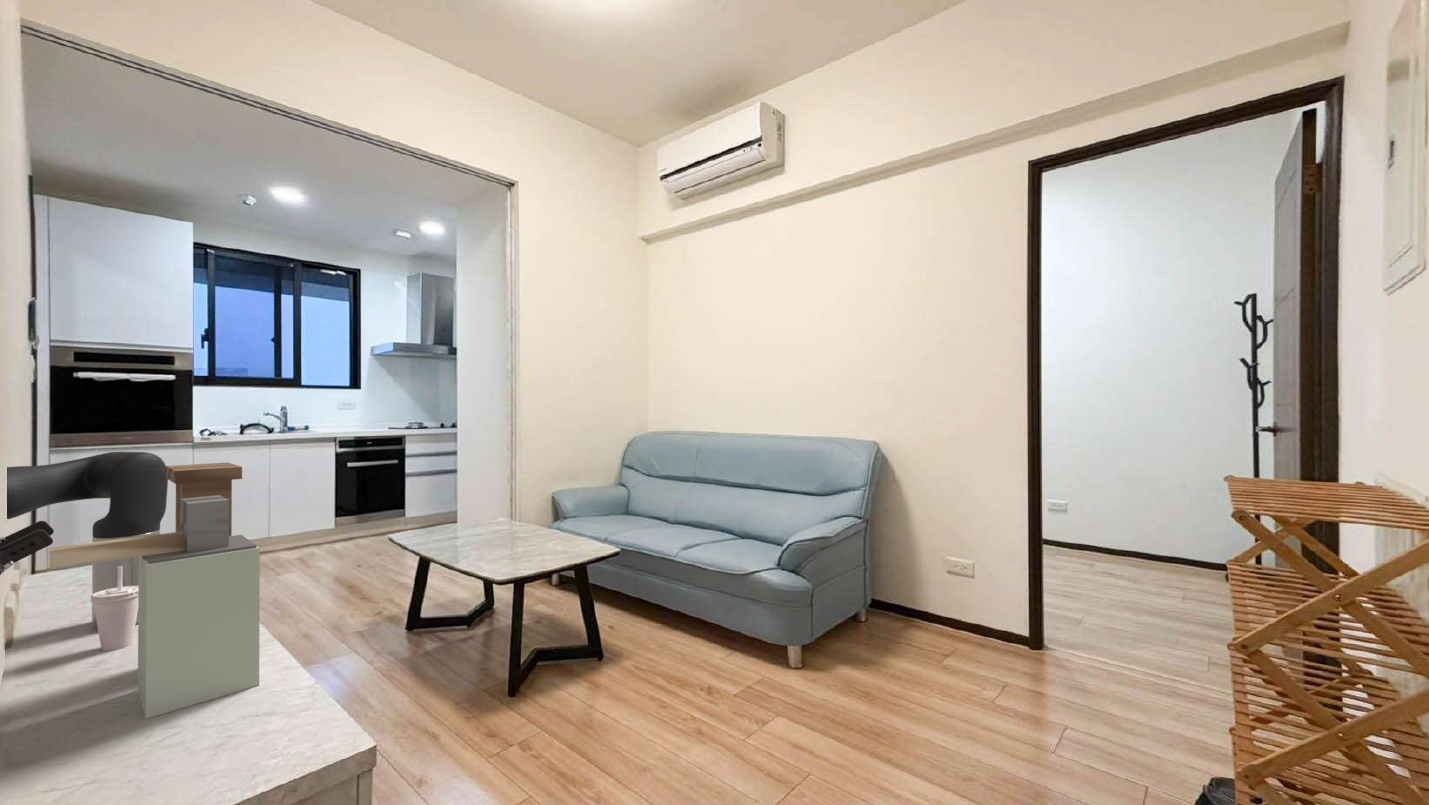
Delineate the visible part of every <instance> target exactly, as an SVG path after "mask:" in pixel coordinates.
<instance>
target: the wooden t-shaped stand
mask: <svg viewBox="0 0 1429 805" xmlns="http://www.w3.org/2000/svg"><path fill="white" fill-rule="evenodd" d="M166 478H167V479H168V481H170V482H172V483H173V484H174V485H175V532H181V499H185V498H196V497H207V496H218V495H220V496H222V497H224V498H226V499H228V500H229V536H232V533H233V532H232V531H233V530H232V526H233V525H232V523H233V522H232V520H233V519H232V512H233V510H232V507H233V506H232V505H233V504H232V502H233V501H232V500H233V499H232V498H233V496H232V495H233V493H232V492H233V491H232V490H233V482H232V481H233V480H242V479H243V467H242V465H238V464H235V463H230V462H216V463H215V462H213V463H200V464H199V463H198V464H184V465H183V464H181V465H179V464H178V465H166Z"/></svg>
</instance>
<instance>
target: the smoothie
mask: <svg viewBox="0 0 1429 805" xmlns="http://www.w3.org/2000/svg"><path fill="white" fill-rule="evenodd" d="M138 589H139V586H124V587H122V566H119V567H118V587H117V588H112V589H107V590H103V591H99V592H96V593H94V594H92V593H91V595H90V603H92V602H93V603H94V610H95V615H96V621H97V626H98V629H97V631H98V637H99V643H100V648H101V651H105V652H108V651H115V650H119V649H123V648H127V647H129V646H132V644H133V640H134V634H135V629H136V625H137V624H136V619H137V613H138Z"/></svg>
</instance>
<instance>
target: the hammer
mask: <svg viewBox="0 0 1429 805" xmlns="http://www.w3.org/2000/svg"><path fill="white" fill-rule="evenodd" d="M223 547H229V500H228V499H226V498H224V497H222V496H220V495H218V496H207V497H196V498H185V499H181V532H176V531H175V532H166V533H160V534H158V535H150V536H141V537H133V538H125V539H117V540H109V541H101V542H93V543H92V542H88V543H79V544H72V545H69V544H68V545H62V546H61V545H60V546H55V547H54V546H53V547H49V570H56V569H64V568H69V567H71V568H72V567H77V566H82V565H83V566H84V565H90V564H91V565H92V563H99V562H106V561H113V560H119V559H126V558H133V557H140V556H147V555H154V554H161V553H168V552H175V551H182V550H186V552H187V553H189V552H196V551H202V550H209V549H216V548H223Z"/></svg>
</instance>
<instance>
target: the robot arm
mask: <svg viewBox="0 0 1429 805" xmlns="http://www.w3.org/2000/svg"><path fill="white" fill-rule="evenodd" d="M166 466H167V465H166V463H165V461H163V459H162V458H161V457H160V456H158V455H156V454H154V453H151V452H145V451H144V452H143V451H112V452H105V453H101V454H97V455H92V456H88V457H83V458H78V459H73V460H66V461H63V462H62V461H61V462H57V463H49V464H45V465H42V464H41V465H23V466H21V465H19V466H6V467H7V519H8V520H11V519H14V518H16V517H19V516H22V515H25V514H27V513H28V514H29V513H30V512H33V511H36V510H38V509H40V508H43V507H46V506H52V505H55V504H60V503H61V504H62V503H67V502H74V501H75V502H76V501H82V500H83V501H84V500H93V499H109V509H108V512H107V514H106V515H105V516H104V517H102V518H100V519H98V520H96V521H95V522H94V523H93V524H92V540H91V541H92V542H91V543H93V542H101V541H109V540H117V539H125V538H133V537H141V536H150V535H158V534H161V529H160V528H161V523H162V522H161V521H162V520H163V518H164V516H165V513H166V510H167V499H168V498H167V497H168V484H169V480H168V479H167V478H166ZM54 532H55V530H54V528H53V527H52V526H51V525H50V524H49V523H48V522H47V521H45V520H38V521H37V522H35V523H32V524H30V525H28V526H26V527H24V528H22V529H19V530H17V531H15V532H13V533H11V534H9V535H7V536H5V537H4V536H2V537H0V576H1V575H2V574H3V573H4V572H5V571H6V570H9V569H10V568H11V567H12V566H13V565H14V564H15V563H17V562H18V561H21V560H22V559H25V558H27V557H29V556H30V555H32V554H35V553H37V552H39V551H42V550H43V549H45V548H47V547H49V546H52V544H53V543H54V540H53V537H52V536H53V534H54ZM91 566H92V567H91V568H92V570H91V571H92V574H91V578H92V580H91V595H92V594H94V593H96V592H99V591H103V590H107V589H112V588H117V587H118V567H119V566H122V587H124V586H139V557H133V558H126V559H119V560H113V561H106V562H99V563H92V564H91ZM135 625H138V613H137V619H136V624H135ZM91 628H92V629H96V630H98V626H97V621H96V615H95V610H94V603H93V602H91Z"/></svg>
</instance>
